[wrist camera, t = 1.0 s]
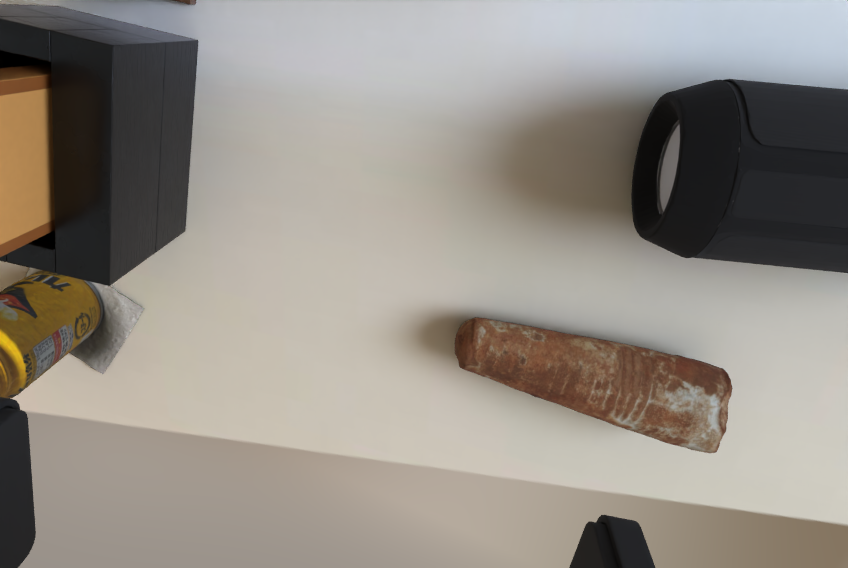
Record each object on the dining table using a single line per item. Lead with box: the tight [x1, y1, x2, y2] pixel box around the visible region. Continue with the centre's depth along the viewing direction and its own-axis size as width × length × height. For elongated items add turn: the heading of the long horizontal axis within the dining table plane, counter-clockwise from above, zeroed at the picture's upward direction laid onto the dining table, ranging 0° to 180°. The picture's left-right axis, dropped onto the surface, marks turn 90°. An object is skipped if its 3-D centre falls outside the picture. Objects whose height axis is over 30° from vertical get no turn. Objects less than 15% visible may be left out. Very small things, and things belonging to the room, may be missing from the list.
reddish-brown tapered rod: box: [455, 318, 732, 453], centre depth 43 cm, size 6×19×6 cm, turn 74°
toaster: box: [0, 4, 198, 286], centre depth 37 cm, size 13×10×10 cm
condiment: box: [0, 268, 144, 399], centre depth 41 cm, size 7×8×12 cm
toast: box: [0, 63, 55, 257], centre depth 32 cm, size 8×2×11 cm, turn 167°
